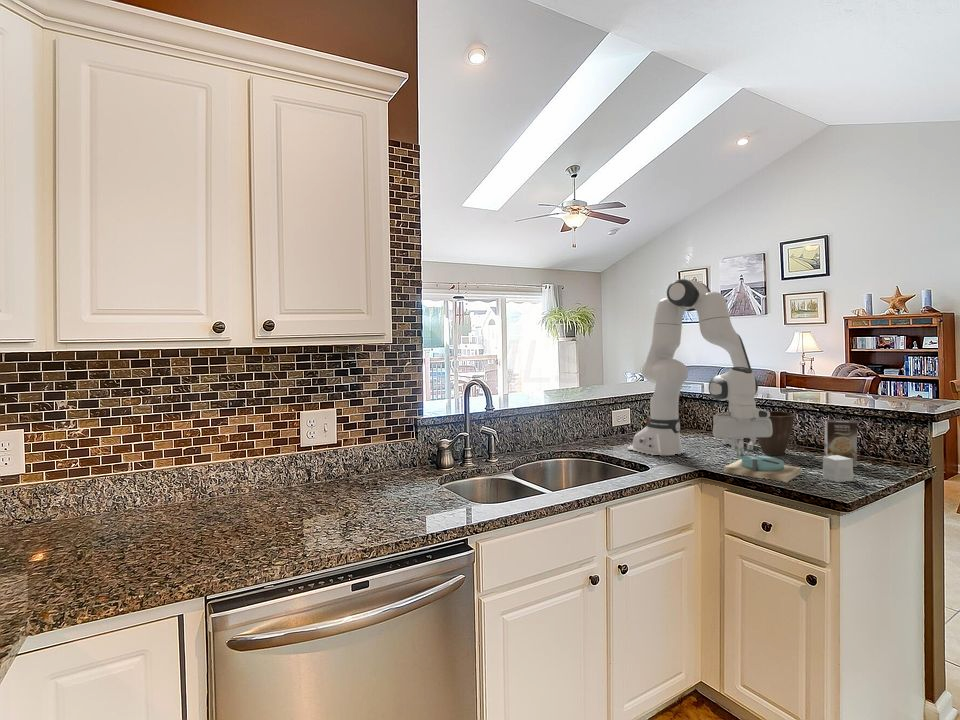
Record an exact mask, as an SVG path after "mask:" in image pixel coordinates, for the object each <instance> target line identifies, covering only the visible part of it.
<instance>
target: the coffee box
mask: <svg viewBox="0 0 960 720" xmlns="http://www.w3.org/2000/svg"><path fill="white" fill-rule="evenodd" d="M823 448H824V449H823V450H824V451H823V452H824V453H823V454H824V455H823V456H833V455H839V456H843V457H847V458H851V459H853V467H857V466H858V465H857V464H858V463H857V462H858V461H857V460H858V422H857V421H854V420H852V419H851V420H850V419H829V418H824V447H823Z"/></svg>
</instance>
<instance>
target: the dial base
mask: <svg viewBox="0 0 960 720" xmlns="http://www.w3.org/2000/svg"><path fill="white" fill-rule="evenodd" d="M723 468H724V473H726V474H732V475H739V476H743V475H744V476H745V477H751V478H756V477H757V479H762V478H765V479H764V480H768V479H771V480H770V481H775V480H776V482H781V481H783V482H782V483H789V482H790V481H791V480H793V479H794V477H795V478H796V477H798V476H799V475H801V474H802V468H801V467H800V466H792V465H785V464H784V469H782V470H777V471H762V470H757V459H753V469H749V468H746V467H744V466H742V459H737V460H736V461H733V462H732V463H729V464H727V465H725V466H724V467H723ZM797 475H798V476H797ZM744 476H743V477H744ZM789 480H790V481H789Z"/></svg>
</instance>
